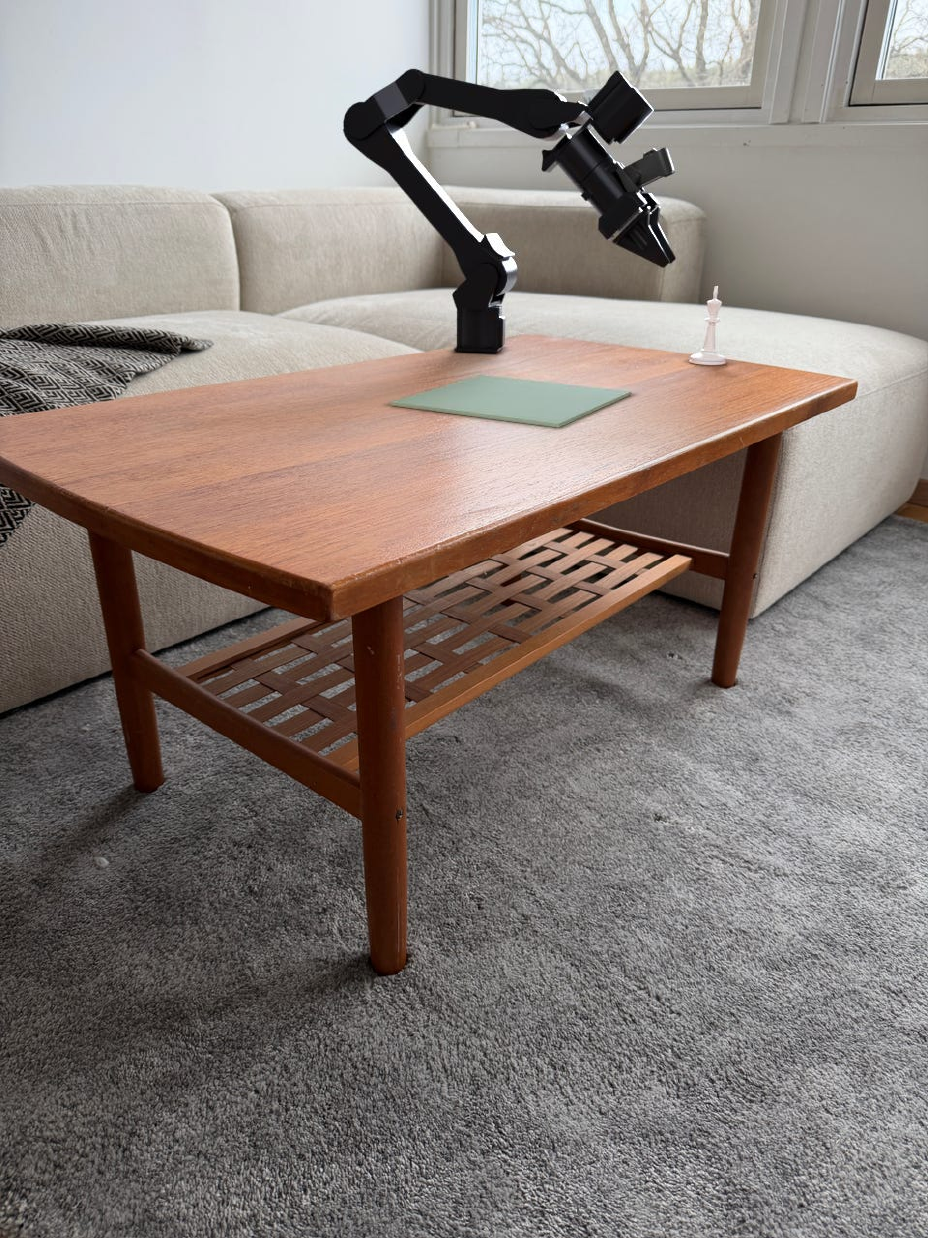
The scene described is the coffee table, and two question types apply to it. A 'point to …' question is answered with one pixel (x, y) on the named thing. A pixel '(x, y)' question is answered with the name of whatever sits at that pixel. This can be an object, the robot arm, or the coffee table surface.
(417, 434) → the coffee table surface
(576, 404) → the felt mat
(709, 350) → the chess piece
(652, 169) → the robot arm
